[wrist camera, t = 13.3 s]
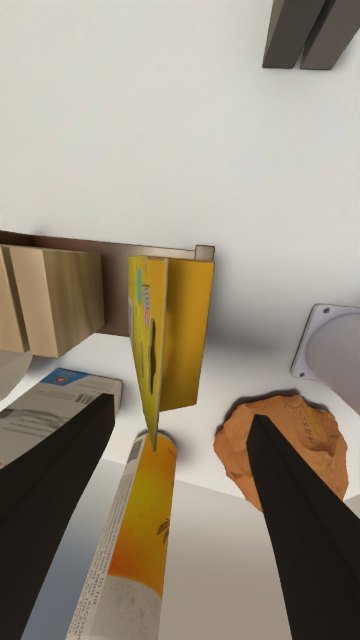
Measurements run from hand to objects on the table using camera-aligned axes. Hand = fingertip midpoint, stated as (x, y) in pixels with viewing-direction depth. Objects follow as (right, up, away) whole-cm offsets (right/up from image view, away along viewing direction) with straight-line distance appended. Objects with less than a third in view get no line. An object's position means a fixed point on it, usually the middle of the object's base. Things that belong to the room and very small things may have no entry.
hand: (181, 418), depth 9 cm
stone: (+11, -10, +15) cm, 21 cm away
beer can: (-3, -12, +16) cm, 20 cm away
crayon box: (-3, +7, +7) cm, 11 cm away
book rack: (-6, +8, +9) cm, 14 cm away
